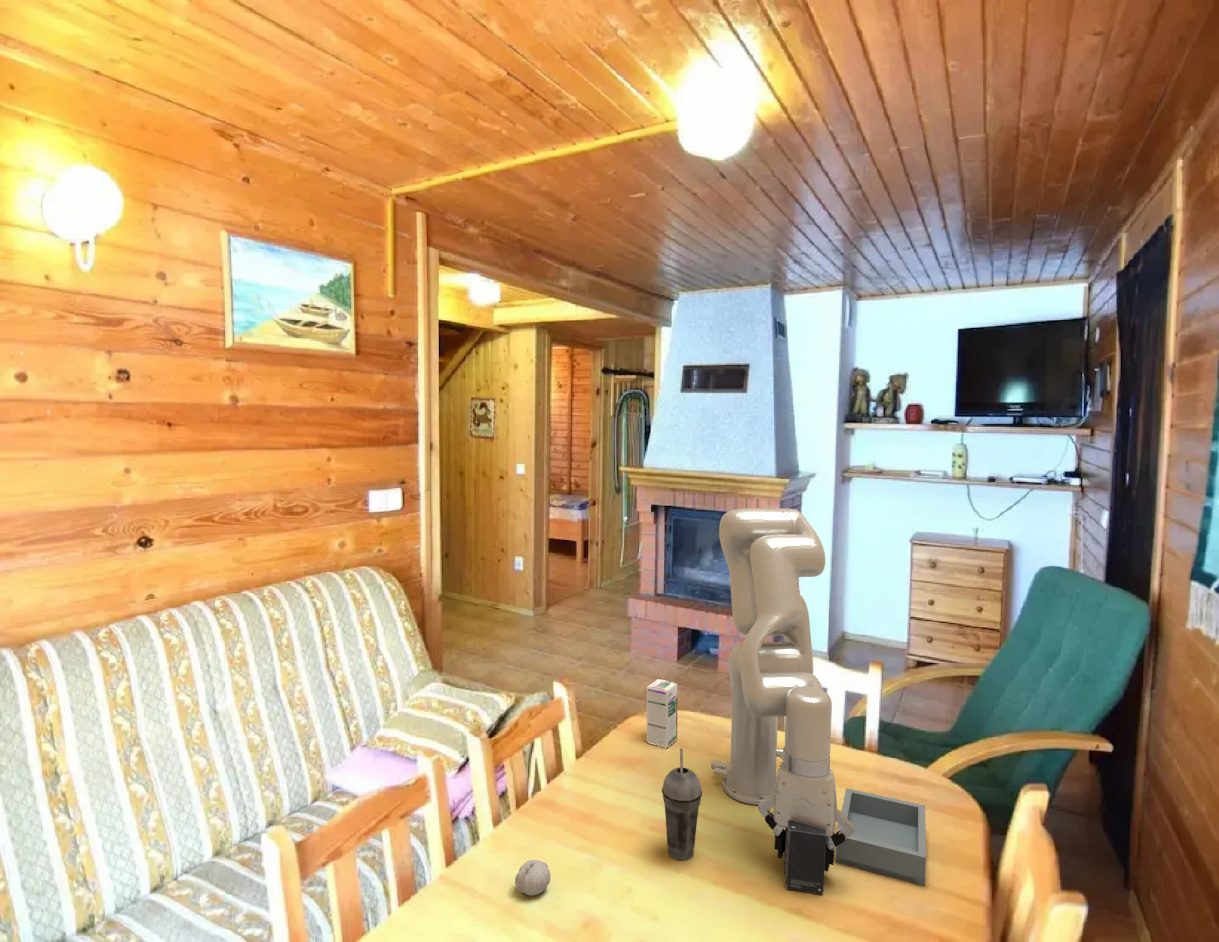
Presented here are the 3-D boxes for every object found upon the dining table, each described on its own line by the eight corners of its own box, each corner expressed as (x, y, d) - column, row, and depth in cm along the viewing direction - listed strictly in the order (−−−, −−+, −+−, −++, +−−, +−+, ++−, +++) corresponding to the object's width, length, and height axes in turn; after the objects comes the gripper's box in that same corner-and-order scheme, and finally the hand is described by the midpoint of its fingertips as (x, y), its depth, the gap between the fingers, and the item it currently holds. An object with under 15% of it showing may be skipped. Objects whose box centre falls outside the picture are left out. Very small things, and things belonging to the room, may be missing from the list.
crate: (835, 862, 120) (836, 835, 120) (845, 811, 136) (846, 787, 136) (924, 885, 114) (926, 857, 114) (924, 830, 130) (925, 805, 130)
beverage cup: (704, 845, 125) (706, 740, 123) (696, 869, 118) (698, 758, 117) (666, 836, 127) (668, 733, 126) (656, 860, 120) (657, 751, 119)
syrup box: (667, 749, 162) (668, 690, 161) (645, 743, 165) (646, 685, 164) (677, 740, 166) (678, 682, 165) (656, 734, 169) (657, 677, 168)
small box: (826, 896, 112) (828, 835, 111) (785, 890, 113) (787, 829, 112) (819, 856, 122) (821, 800, 121) (782, 851, 123) (784, 795, 123)
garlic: (525, 907, 108) (525, 876, 108) (509, 888, 113) (509, 858, 112) (557, 892, 112) (557, 862, 112) (540, 874, 116) (541, 845, 116)
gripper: (751, 760, 116) (748, 858, 118) (858, 783, 109) (854, 888, 110) (760, 741, 123) (758, 835, 124) (862, 762, 116) (858, 861, 117)
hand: (803, 859), depth 117 cm, fingers closed on small box, 7 cm apart
